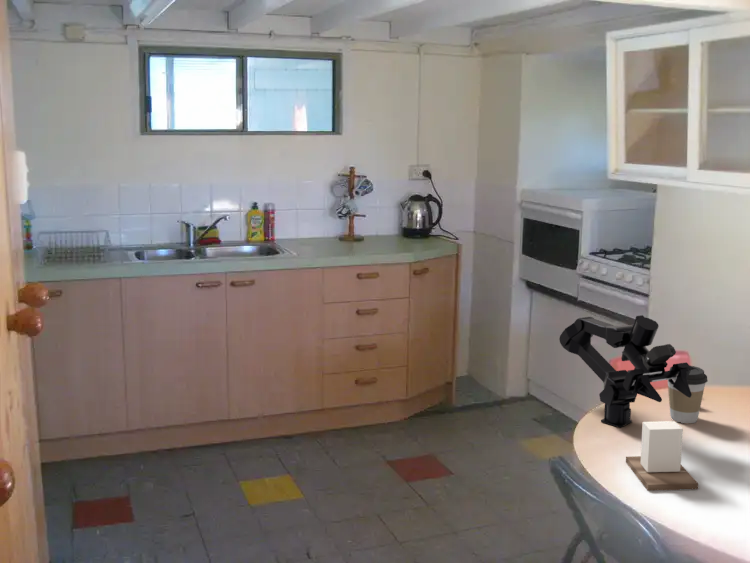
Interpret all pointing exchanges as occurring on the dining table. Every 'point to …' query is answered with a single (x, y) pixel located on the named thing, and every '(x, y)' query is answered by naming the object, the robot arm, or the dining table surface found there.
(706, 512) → the dining table surface
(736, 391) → the dining table surface
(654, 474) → the board
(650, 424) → the block
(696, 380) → the coffee cup
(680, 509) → the dining table surface
